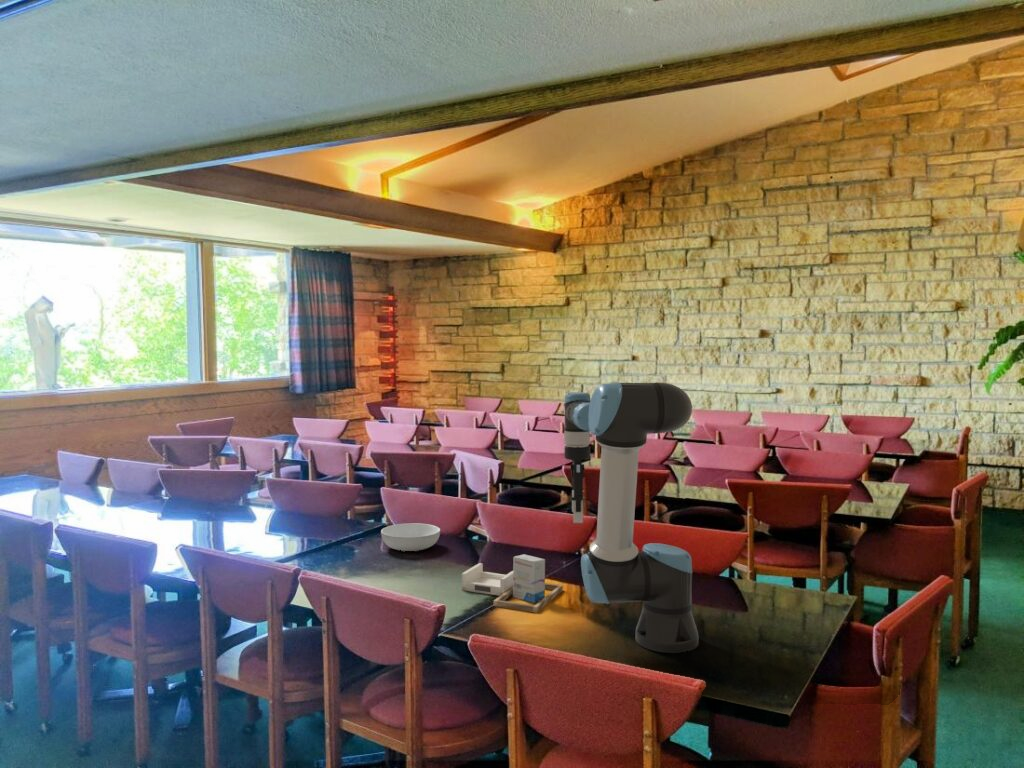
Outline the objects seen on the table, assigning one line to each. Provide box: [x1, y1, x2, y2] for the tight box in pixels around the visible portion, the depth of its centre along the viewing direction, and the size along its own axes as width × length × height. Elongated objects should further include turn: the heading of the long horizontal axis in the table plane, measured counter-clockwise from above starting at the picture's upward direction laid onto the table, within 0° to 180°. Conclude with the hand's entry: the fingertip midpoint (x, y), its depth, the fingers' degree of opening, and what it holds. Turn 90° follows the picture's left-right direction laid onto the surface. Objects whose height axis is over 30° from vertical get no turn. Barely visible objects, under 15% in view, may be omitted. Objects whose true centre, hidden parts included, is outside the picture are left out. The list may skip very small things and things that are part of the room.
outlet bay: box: [461, 562, 513, 597], centre depth 224 cm, size 12×14×5 cm
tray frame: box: [492, 582, 564, 614], centre depth 215 cm, size 20×13×2 cm, turn 156°
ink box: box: [512, 553, 546, 604], centre depth 214 cm, size 9×5×12 cm, turn 47°
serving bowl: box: [380, 522, 441, 552], centre depth 267 cm, size 21×21×7 cm
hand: (577, 517), depth 220 cm, fingers open, 13 cm apart
